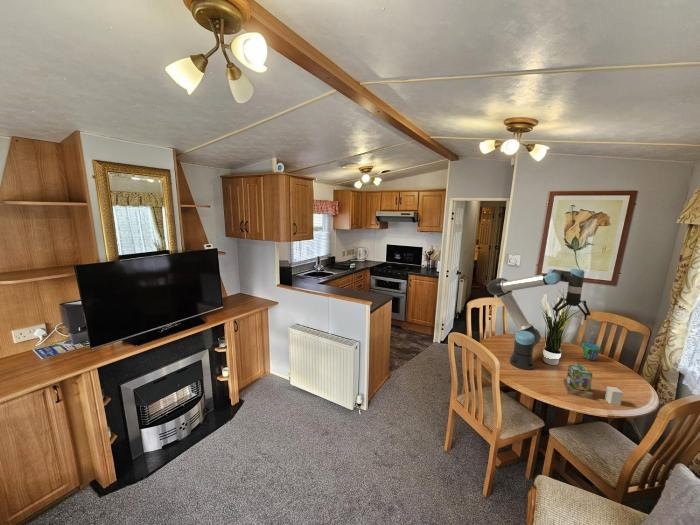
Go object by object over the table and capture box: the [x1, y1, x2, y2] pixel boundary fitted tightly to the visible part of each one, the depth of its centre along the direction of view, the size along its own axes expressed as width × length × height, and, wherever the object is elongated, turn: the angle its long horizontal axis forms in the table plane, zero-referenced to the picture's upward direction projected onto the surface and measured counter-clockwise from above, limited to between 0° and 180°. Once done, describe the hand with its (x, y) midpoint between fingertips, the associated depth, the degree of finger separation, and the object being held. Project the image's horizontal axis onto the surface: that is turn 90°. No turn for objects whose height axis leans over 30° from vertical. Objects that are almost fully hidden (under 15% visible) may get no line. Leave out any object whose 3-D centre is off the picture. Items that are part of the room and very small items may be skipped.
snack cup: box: [581, 342, 601, 362], centre depth 217 cm, size 16×10×10 cm
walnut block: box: [562, 378, 594, 401], centre depth 176 cm, size 12×12×4 cm
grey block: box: [604, 386, 624, 406], centre depth 166 cm, size 5×5×8 cm
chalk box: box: [566, 361, 593, 391], centre depth 174 cm, size 9×9×15 cm
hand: (569, 322), depth 195 cm, fingers open, 13 cm apart
